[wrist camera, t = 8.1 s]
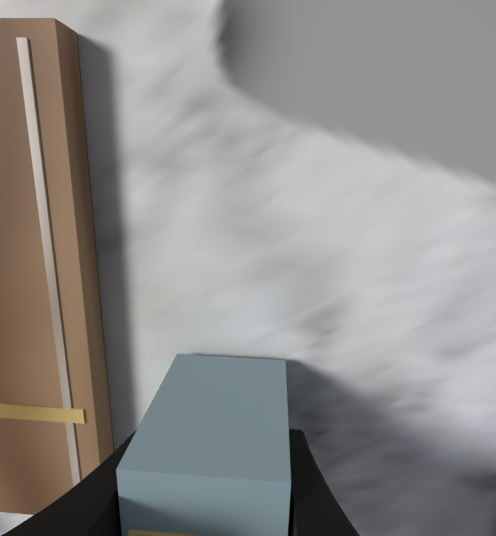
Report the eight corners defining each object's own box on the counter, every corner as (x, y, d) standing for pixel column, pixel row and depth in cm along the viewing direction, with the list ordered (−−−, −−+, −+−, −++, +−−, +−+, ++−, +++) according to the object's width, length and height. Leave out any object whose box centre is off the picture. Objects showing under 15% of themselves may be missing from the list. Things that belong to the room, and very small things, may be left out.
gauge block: (285, 360, 14) (291, 486, 8) (280, 451, 15) (282, 616, 9) (177, 353, 14) (114, 471, 9) (179, 444, 15) (125, 600, 10)
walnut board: (76, 32, 12) (52, 17, 10) (117, 496, 16) (104, 522, 15) (-105, 32, 12) (-148, 17, 11) (-13, 485, 17) (-35, 510, 16)
